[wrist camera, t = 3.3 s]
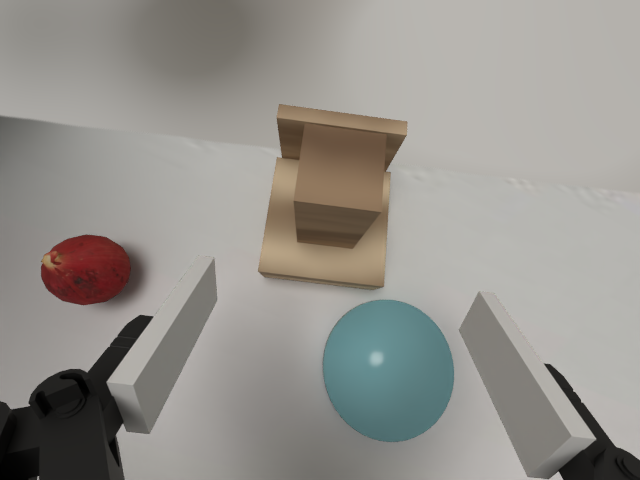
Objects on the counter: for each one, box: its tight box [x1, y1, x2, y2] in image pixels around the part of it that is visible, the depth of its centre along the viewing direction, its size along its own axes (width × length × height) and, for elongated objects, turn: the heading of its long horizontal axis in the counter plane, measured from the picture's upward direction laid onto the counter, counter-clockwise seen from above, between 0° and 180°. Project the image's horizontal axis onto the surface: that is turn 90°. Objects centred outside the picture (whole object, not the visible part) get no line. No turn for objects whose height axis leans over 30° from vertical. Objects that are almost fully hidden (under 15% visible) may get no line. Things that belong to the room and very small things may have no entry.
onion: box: [41, 235, 131, 305], centre depth 25 cm, size 6×6×8 cm
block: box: [294, 124, 387, 249], centre depth 22 cm, size 5×5×10 cm
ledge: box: [258, 104, 407, 290], centre depth 26 cm, size 12×11×10 cm
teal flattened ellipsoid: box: [323, 300, 454, 442], centre depth 27 cm, size 12×12×1 cm
